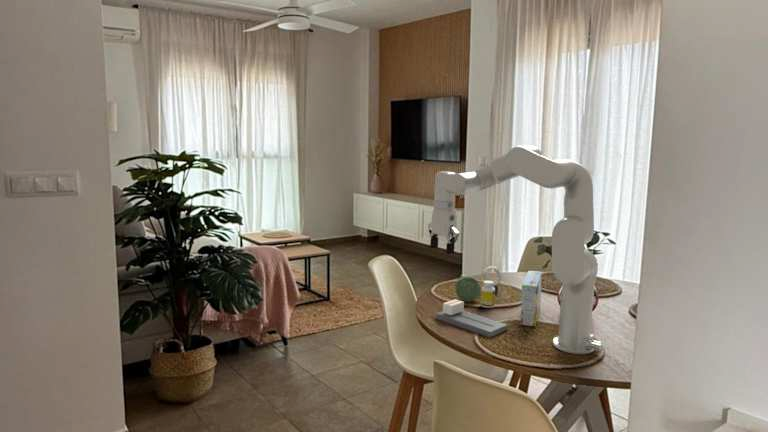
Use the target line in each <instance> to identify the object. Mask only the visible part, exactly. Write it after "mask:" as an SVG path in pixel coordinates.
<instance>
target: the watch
mask: <svg viewBox="0 0 768 432" xmlns="http://www.w3.org/2000/svg"><path fill="white" fill-rule="evenodd" d="M490 269H493V270H494V272H495V274H496V276H497V278H498V280H497V281H496V282H494V286H493V287H494V288H495V293H498V290H499V287H498V286H499V285H498V284H500V283H501V281H502V278H503V276H502V274H501V272H500V270H499V269H498V266H494V265H490V266H487V267H485V268H484V270H483V272H482V278H483V280H484V281H488V279H487V278H486V271H487V270H490ZM498 294H499V293H498Z"/></svg>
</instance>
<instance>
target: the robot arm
mask: <svg viewBox="0 0 768 432" xmlns="http://www.w3.org/2000/svg"><path fill="white" fill-rule="evenodd" d="M519 177H522V179H526V180H528V181H530V182H532V183H533V184H536V185H538V186H540V187H543V188H544V189H545V188H546V189H552V190H553V189H559V188H562V187H563V188H564V192H565V193H564V197H563V218H562V219H560V220H559V221H557V222H556V223H555V225H554V227H553V229H552V232H551V266H552V274H553V276H554V278H555V279H556V280H557V282H559V283H560V284H561V292H560V306H559V307H560V308H559V322H558V334H557V335H558V336H556V337H554V338H553V340H552V345H553V346H554V347H555V348H556V349H557V350H560V351H562V352H565V353H568V354H574V355H575V354H576V355H586V354H587V355H588V354H590V353H593V352H594V351H595V350H596V351H600V352H601V351H602V350H603V349H602V348H603V345H602V344H603V343H602V342H601V341H598V340H595V339H594V336H595V335H594V334H591V332H592V319H593V309H594V308H593V305H594V295H595V286H596V280H597V275H598V271H599V270H598V269H599V264H598V260H597V258H596V256H595V254H594V253H593V252H591V251H590V250H589V249H586V248H585V245H586V244H588V243H589V242H591V241H592V239H593V238H594V234H595V223H594V221H595V220H594V218H595V216H594V214H595V213H594V211H595V210H594V185H593V179H592V177H591V174H590V172H589V171H588V170H587V169H586V167H585V166H583V165H582V164H581V163H579V162H577V161H575V160H571V159H567V158H565V159H562V158H561V159H553V160H552V159H550V158H547V157H545V156H544V155H543V152H542V151H541V150H540V149H539V147H537V146H534V145H531V144H530V145H529V144H528V145H516V146H514V147H512V148H511V149H509V150H508V151H507V153H505V154H502V155H500V156H497V157H495V158H492V160H491V161H490V164H488V165H487V166H484V167H481V168H479V169H476V170H474V171H466V172H458V173H455V172H454V171H445V170H443V171H442V170H441V171H437V172H436V173H435V180H434V181H435V182H434V200H433V202H434V203H433V210H432V215H431V222H430V223H428V224H427V227H428V232H429V237H430V243H429V244H430V246H429V247H430V249H436V248H438V247H439V237H438V236H441V237H444V238H445V239H446V241H447V243H446V248H445V249H446V250H445V254H447V255H453V254H454V253H455V244H456V242H457V241H458V238H459V236H460V232H459V231H458V230H457V228H458V226H457V225H458V223H457V220H458V219H457V212H456V210H455V207H456V206H455V204H456V195H458V196H459V195H467V194H471V193H477V192H480V191H483V190H485V189H489V188H492V187H494V186H496V185H499V184H502V183H504V182H506V181H507V182H508V181H510V180H512V179H515V178H519Z"/></svg>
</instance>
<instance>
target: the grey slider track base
mask: <svg viewBox="0 0 768 432" xmlns="http://www.w3.org/2000/svg"><path fill="white" fill-rule="evenodd" d="M435 319H436V320H437V321H438V320H439V321H441V322H445V323H447V324H450V325H453V326H456V327H459V328H462V329H464V330H467V331H470V332H473V333H475V334H478V333H479V335H481V334H482V335H481V336H484V335H485V336H484V337H487V336H488V337H487V338H490V337H491V338H493V337H495V336H497V334H498V335H500V334H502V333H504V332H503V331H505V330H507V329H508V327H509V326H508V324H507V323H504V322H501V321H497V320H494V319H491V318H487V317H485V316H482V315H478V314H475V313H472V312H469V311H466V310H464V311H462V312H459V313H457V314H454V315H449V314H446V313H443V310H441V311H438V312H436V313H435ZM507 331H508V330H507ZM501 332H502V333H501ZM505 332H506V331H505ZM499 333H500V334H499ZM494 335H495V336H494ZM492 336H493V337H492Z"/></svg>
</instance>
